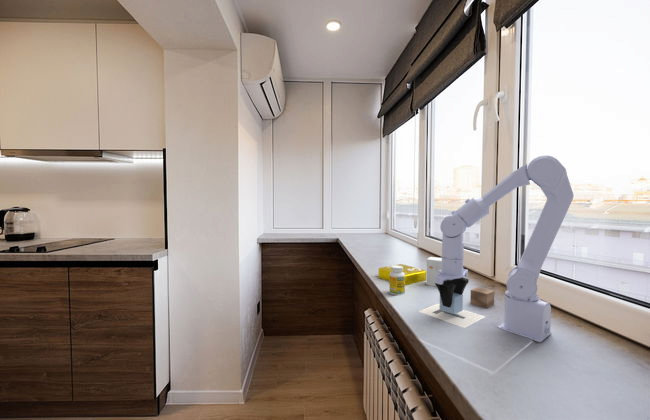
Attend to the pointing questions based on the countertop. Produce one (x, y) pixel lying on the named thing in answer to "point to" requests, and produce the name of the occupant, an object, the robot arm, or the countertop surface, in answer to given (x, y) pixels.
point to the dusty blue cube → (453, 304)
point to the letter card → (453, 316)
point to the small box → (433, 269)
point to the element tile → (410, 273)
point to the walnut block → (482, 297)
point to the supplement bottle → (397, 281)
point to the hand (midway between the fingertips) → (451, 304)
